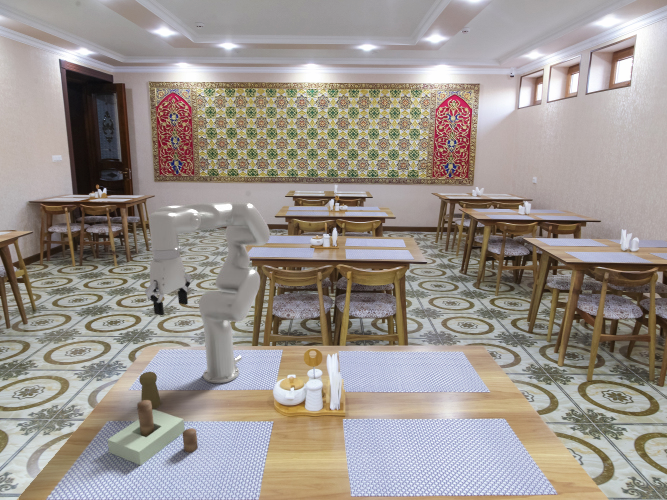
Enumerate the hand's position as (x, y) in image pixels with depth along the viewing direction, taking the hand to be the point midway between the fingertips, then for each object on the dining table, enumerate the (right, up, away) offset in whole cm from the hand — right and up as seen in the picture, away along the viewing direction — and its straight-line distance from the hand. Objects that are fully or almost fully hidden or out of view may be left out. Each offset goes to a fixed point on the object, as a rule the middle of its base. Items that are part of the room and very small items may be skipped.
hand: (171, 308), depth 140 cm
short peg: (+9, -37, -12) cm, 40 cm away
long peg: (-3, -36, -9) cm, 38 cm away
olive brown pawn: (-10, -32, +10) cm, 35 cm away
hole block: (-4, -36, -9) cm, 38 cm away
